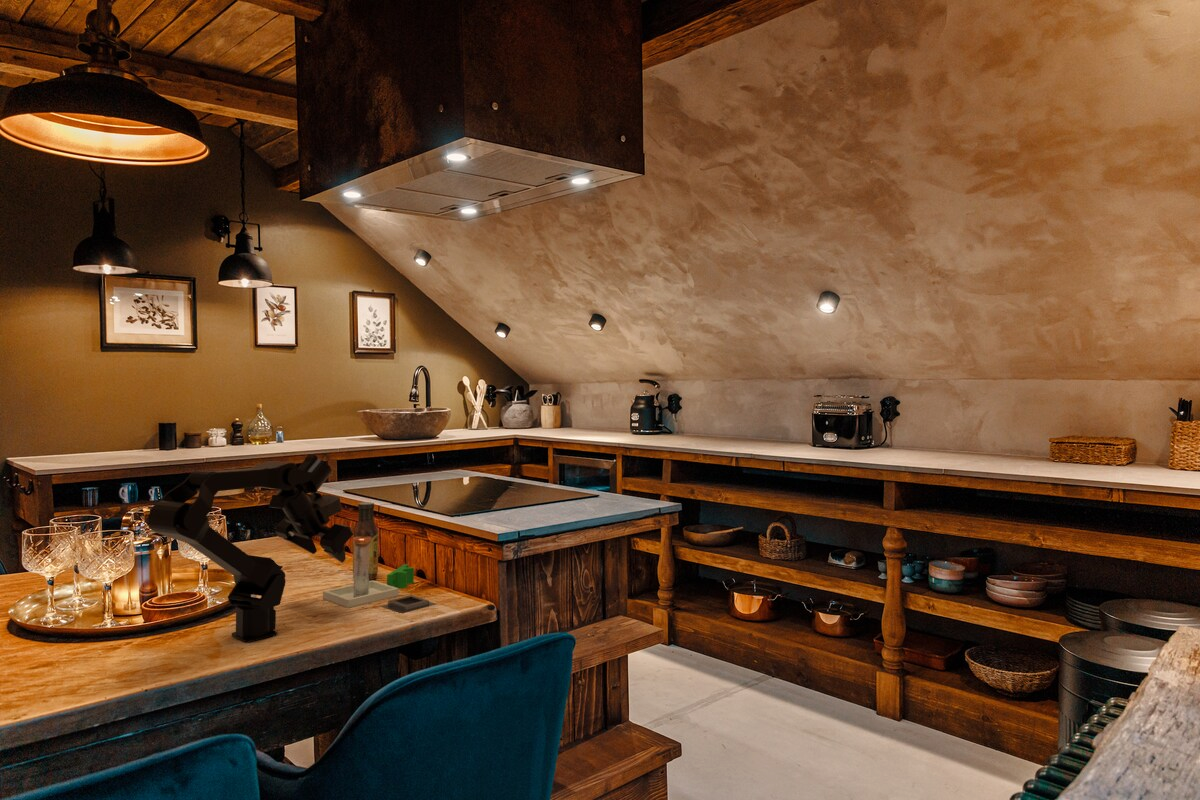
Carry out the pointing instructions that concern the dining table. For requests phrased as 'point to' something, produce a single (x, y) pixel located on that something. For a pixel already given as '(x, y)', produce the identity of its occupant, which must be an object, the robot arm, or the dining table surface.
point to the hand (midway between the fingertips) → (329, 556)
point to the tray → (346, 596)
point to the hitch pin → (361, 565)
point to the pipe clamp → (401, 577)
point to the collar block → (407, 604)
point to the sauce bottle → (368, 529)
